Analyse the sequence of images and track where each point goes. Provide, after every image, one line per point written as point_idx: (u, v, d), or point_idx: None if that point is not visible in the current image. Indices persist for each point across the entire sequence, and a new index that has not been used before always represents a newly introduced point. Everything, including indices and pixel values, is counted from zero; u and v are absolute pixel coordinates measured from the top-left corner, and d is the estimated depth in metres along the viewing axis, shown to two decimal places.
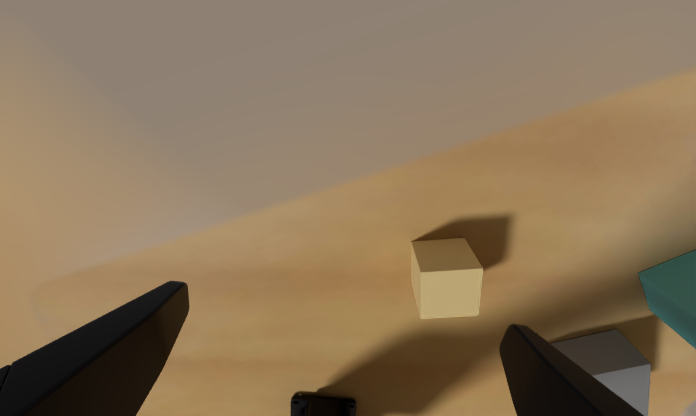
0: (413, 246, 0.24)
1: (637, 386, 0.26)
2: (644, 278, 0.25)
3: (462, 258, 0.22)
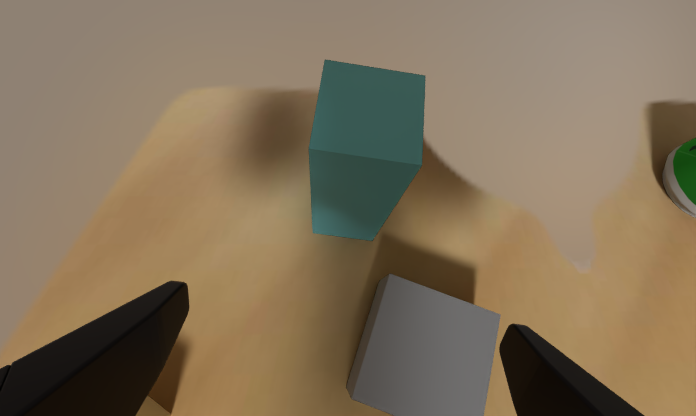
0: None
1: (423, 302, 0.19)
2: (314, 230, 0.23)
3: None
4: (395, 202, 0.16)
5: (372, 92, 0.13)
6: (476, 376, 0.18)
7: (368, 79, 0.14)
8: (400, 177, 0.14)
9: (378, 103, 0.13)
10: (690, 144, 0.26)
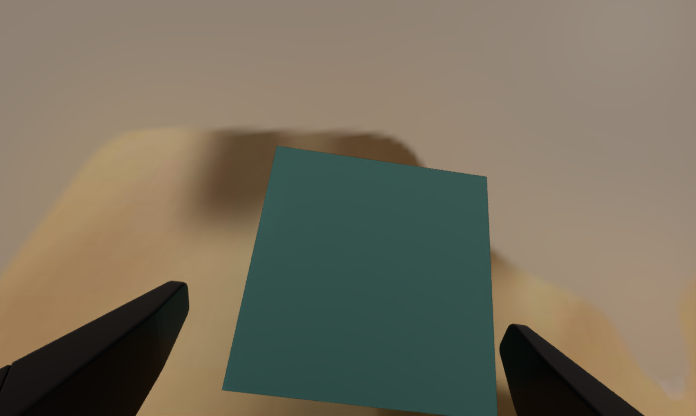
0: None
1: None
2: None
3: None
4: None
5: (377, 222, 0.06)
6: None
7: (368, 189, 0.06)
8: None
9: (391, 249, 0.06)
10: None
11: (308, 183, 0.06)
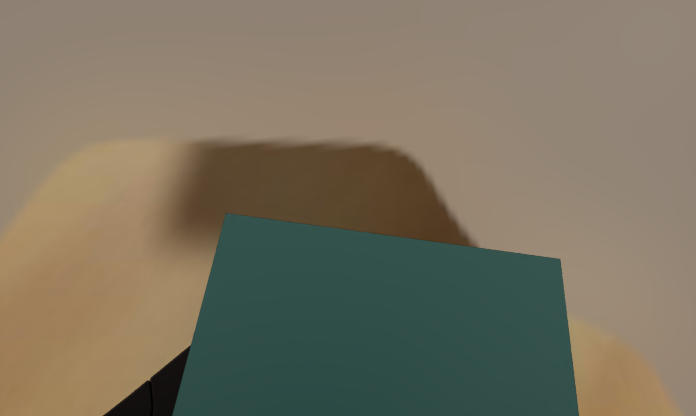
0: None
1: None
2: None
3: None
4: None
5: (389, 347, 0.04)
6: None
7: (374, 286, 0.04)
8: None
9: (413, 399, 0.04)
10: None
11: (275, 279, 0.04)
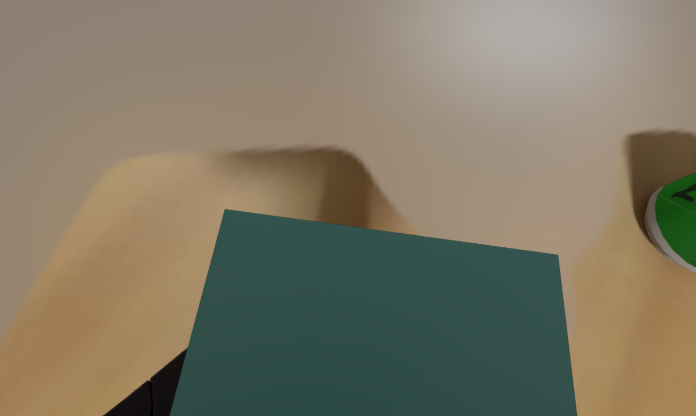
0: None
1: None
2: None
3: None
4: None
5: (387, 342, 0.04)
6: None
7: (371, 281, 0.04)
8: None
9: (411, 393, 0.04)
10: (672, 189, 0.24)
11: (273, 274, 0.04)
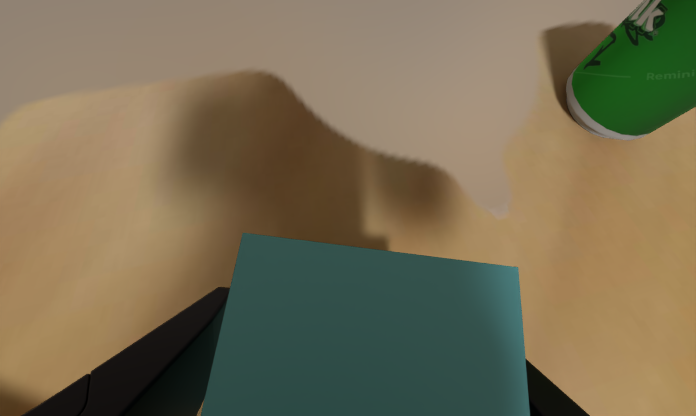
0: None
1: None
2: None
3: None
4: None
5: (376, 341, 0.05)
6: None
7: (364, 292, 0.05)
8: None
9: (395, 381, 0.04)
10: (584, 62, 0.25)
11: (284, 286, 0.05)
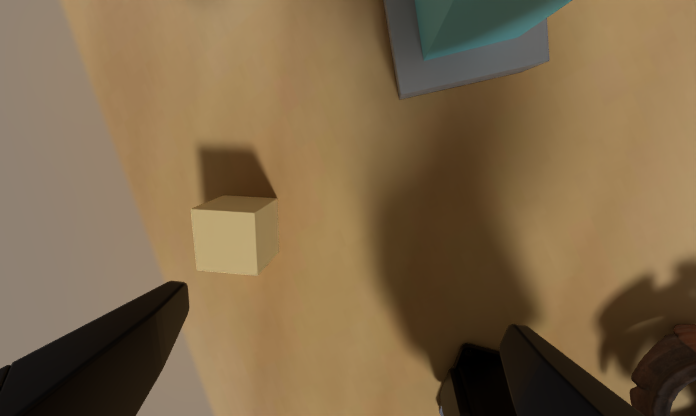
0: None
1: None
2: (427, 58, 0.15)
3: None
4: None
5: None
6: None
7: None
8: None
9: None
10: None
11: None
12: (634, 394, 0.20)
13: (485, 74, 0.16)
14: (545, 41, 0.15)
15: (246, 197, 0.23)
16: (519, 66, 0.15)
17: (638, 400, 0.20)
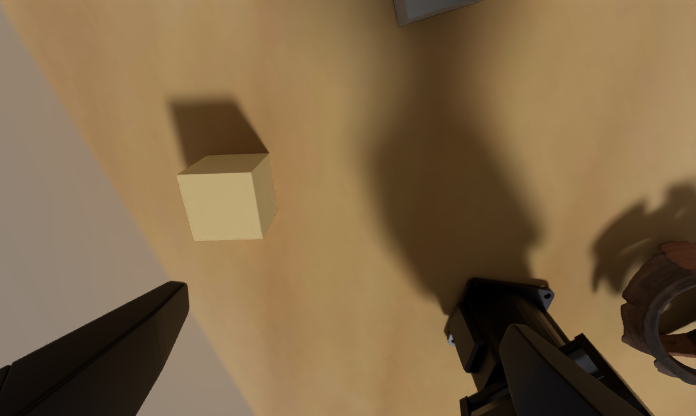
0: None
1: None
2: None
3: None
4: None
5: None
6: None
7: None
8: None
9: None
10: None
11: None
12: (625, 309, 0.22)
13: None
14: None
15: (234, 155, 0.20)
16: None
17: (628, 314, 0.22)
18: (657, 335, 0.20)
